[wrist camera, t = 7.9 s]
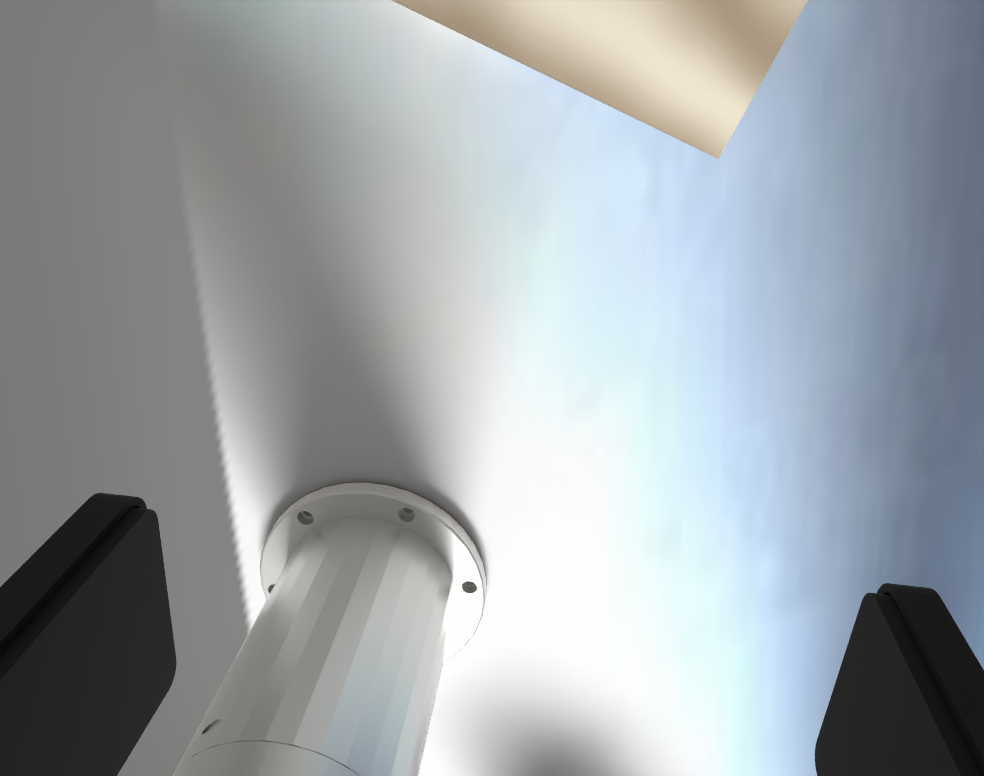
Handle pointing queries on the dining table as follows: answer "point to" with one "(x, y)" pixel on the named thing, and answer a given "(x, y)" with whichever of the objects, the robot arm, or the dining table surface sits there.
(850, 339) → the dining table surface
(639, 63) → the wooden cutting board
